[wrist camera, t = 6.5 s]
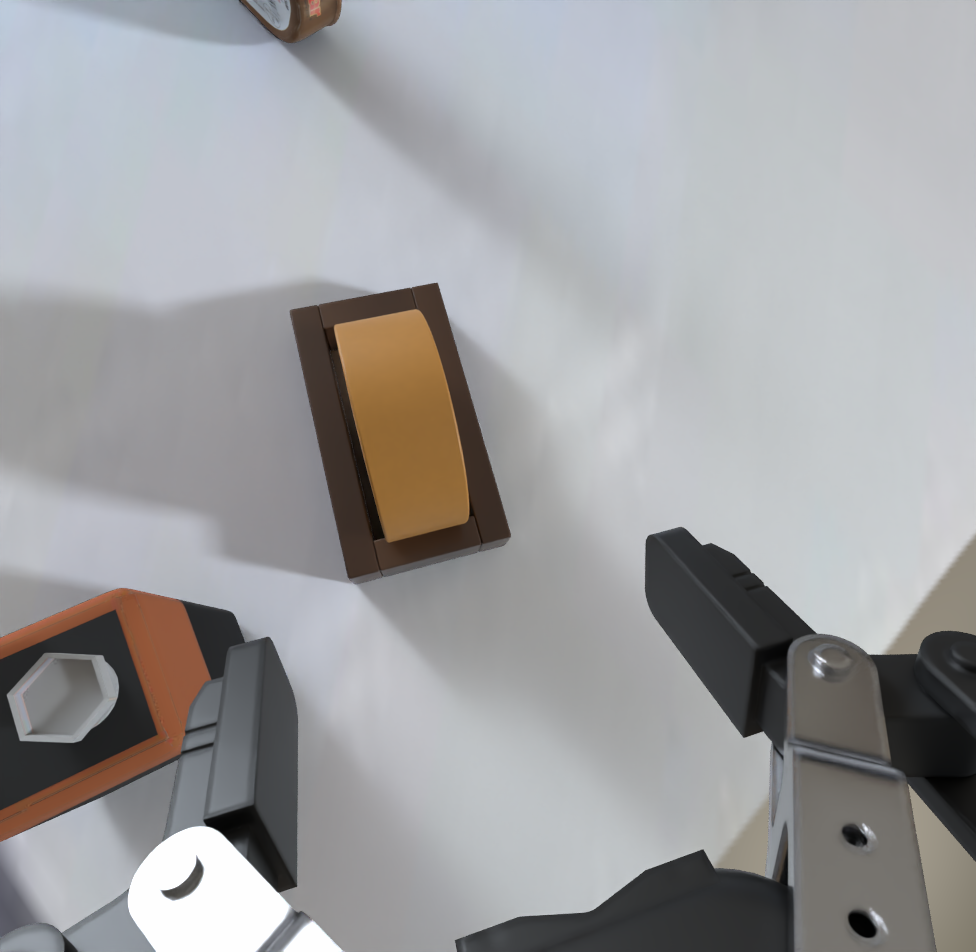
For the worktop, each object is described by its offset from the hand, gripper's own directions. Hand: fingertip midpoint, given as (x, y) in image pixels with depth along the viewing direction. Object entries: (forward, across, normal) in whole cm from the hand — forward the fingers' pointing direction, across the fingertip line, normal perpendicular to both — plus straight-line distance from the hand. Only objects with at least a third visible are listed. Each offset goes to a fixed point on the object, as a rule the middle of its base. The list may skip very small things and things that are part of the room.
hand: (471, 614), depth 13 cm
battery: (+9, +11, +8) cm, 17 cm away
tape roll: (+15, 0, +2) cm, 15 cm away
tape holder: (+15, 0, +3) cm, 15 cm away
